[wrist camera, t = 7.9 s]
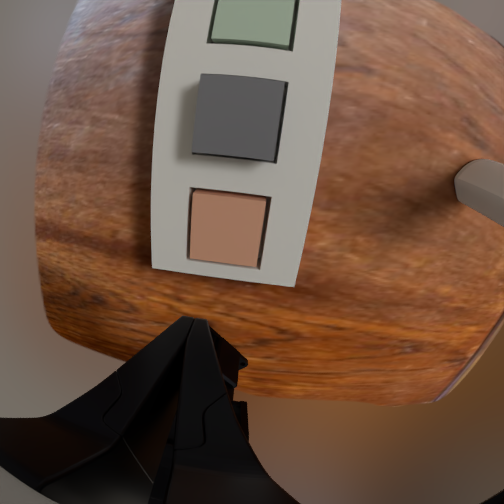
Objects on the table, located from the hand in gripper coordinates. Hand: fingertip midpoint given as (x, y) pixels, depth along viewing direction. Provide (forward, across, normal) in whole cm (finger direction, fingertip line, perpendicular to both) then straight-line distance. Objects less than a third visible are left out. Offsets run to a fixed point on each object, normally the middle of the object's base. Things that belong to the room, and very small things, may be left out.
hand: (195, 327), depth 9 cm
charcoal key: (+10, 0, -7) cm, 12 cm away
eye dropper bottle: (+12, -20, -7) cm, 24 cm away
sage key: (+11, 0, -14) cm, 18 cm away
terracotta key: (+11, 0, 0) cm, 11 cm away
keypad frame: (+12, 0, -7) cm, 14 cm away
